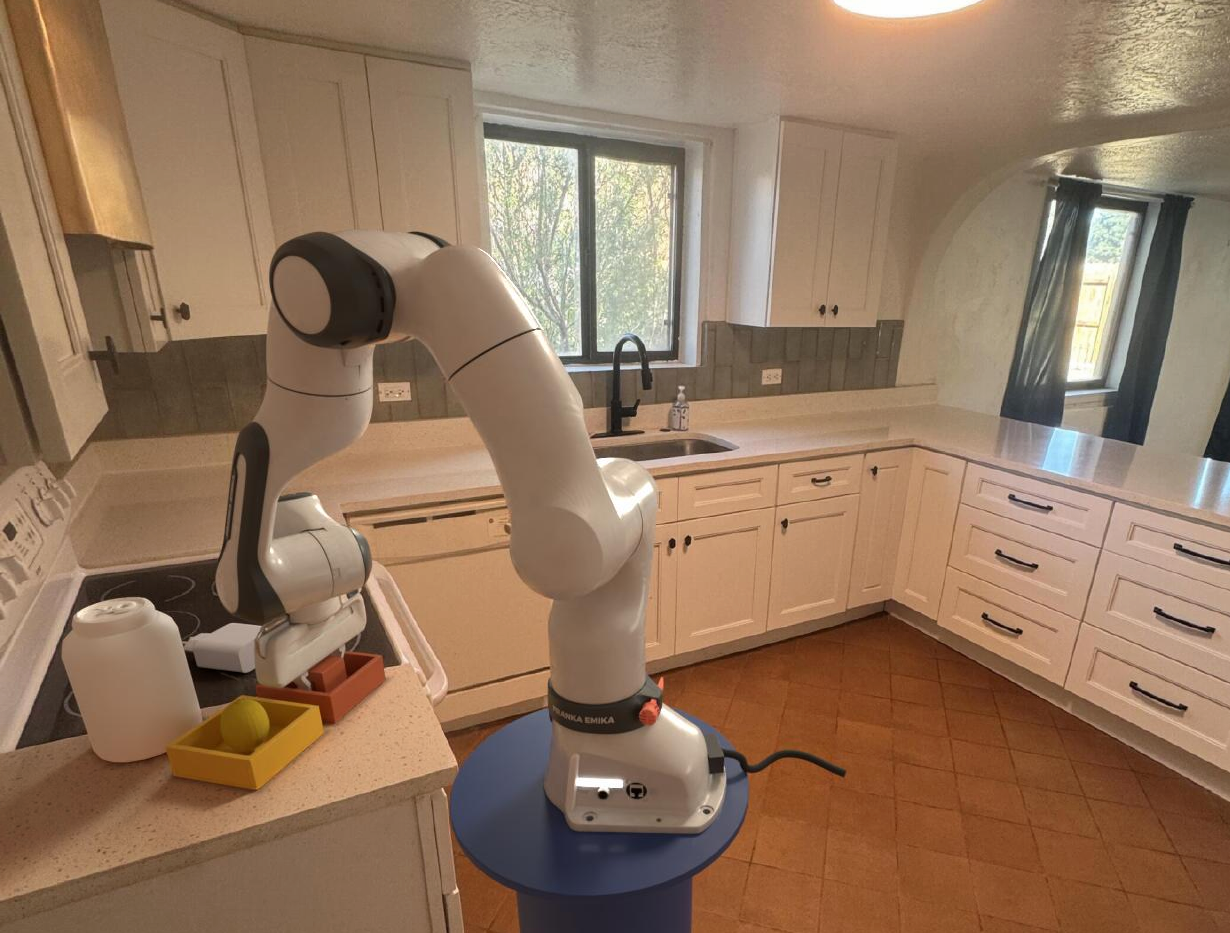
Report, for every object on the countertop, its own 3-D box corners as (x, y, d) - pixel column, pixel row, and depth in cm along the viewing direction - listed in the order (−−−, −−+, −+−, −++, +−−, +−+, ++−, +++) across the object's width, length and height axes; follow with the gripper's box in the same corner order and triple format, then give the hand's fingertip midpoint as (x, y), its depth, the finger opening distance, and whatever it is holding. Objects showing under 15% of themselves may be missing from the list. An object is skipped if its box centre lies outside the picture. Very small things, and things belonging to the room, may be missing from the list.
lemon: (256, 734, 97) (244, 684, 94) (283, 745, 95) (272, 694, 92) (218, 756, 92) (204, 704, 89) (245, 768, 90) (231, 715, 87)
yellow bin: (324, 732, 98) (318, 705, 97) (257, 790, 87) (249, 760, 85) (248, 721, 101) (241, 694, 99) (173, 776, 89) (164, 746, 88)
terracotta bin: (386, 679, 112) (382, 655, 110) (335, 723, 100) (330, 696, 99) (317, 671, 114) (313, 646, 113) (260, 712, 103) (254, 686, 101)
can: (208, 704, 105) (175, 582, 98) (199, 749, 94) (162, 616, 87) (106, 725, 100) (63, 598, 92) (85, 776, 89) (35, 636, 82)
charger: (210, 641, 124) (284, 649, 121) (166, 666, 116) (243, 675, 113) (204, 617, 122) (278, 625, 120) (159, 640, 114) (237, 649, 111)
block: (348, 685, 109) (343, 657, 107) (327, 702, 104) (322, 673, 102) (320, 681, 110) (315, 653, 108) (298, 698, 105) (292, 669, 103)
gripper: (273, 634, 91) (292, 723, 96) (367, 577, 110) (379, 654, 115) (232, 629, 93) (253, 717, 98) (332, 573, 111) (346, 650, 116)
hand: (322, 682), depth 107 cm, fingers closed on block, 5 cm apart
